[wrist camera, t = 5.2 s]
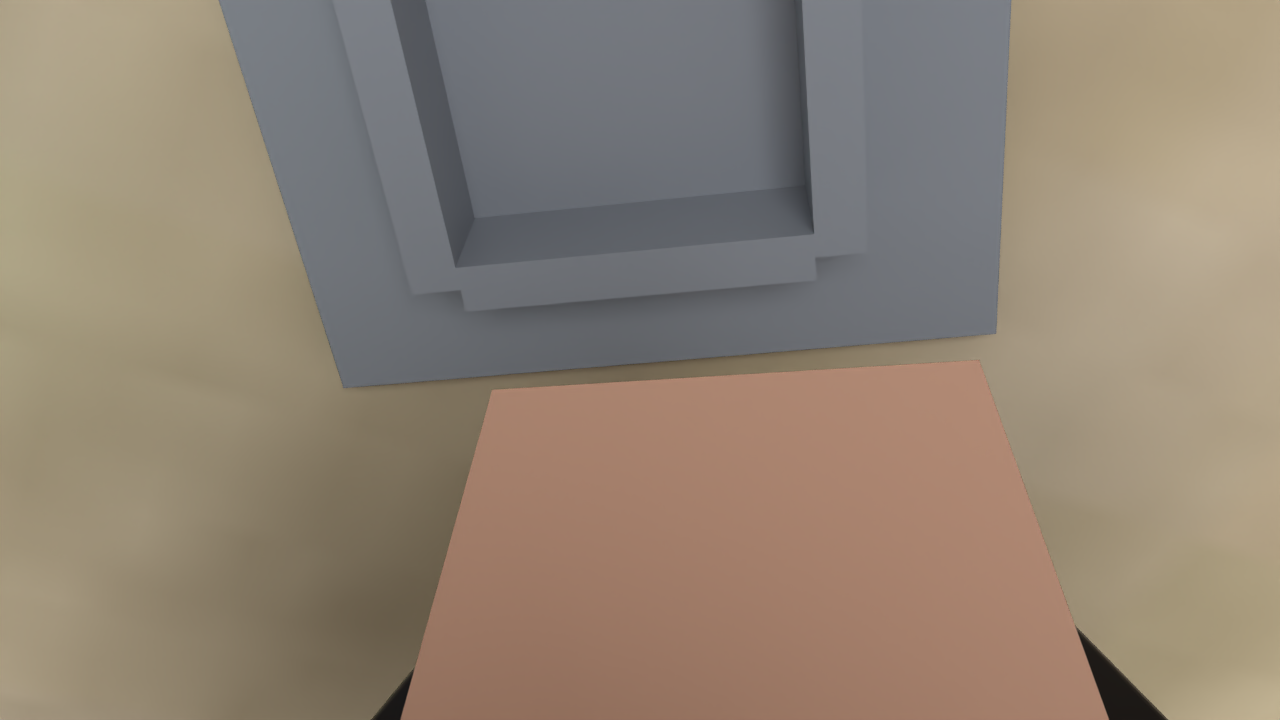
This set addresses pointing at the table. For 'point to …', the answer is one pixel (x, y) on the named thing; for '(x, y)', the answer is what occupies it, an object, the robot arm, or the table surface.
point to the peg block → (750, 557)
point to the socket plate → (631, 175)
